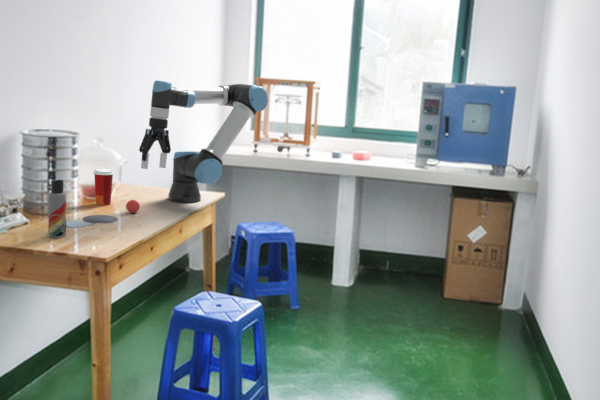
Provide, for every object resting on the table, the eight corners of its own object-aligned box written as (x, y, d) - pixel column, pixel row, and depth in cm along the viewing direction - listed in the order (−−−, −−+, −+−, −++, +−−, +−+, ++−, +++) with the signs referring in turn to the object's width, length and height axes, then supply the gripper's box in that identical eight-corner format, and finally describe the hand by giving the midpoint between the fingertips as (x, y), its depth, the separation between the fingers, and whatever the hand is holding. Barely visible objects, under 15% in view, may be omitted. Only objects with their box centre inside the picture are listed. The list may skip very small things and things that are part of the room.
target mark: (102, 213, 245) (102, 213, 245) (124, 219, 239) (124, 219, 239) (75, 218, 234) (75, 218, 234) (98, 224, 228) (98, 224, 228)
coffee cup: (112, 202, 268) (113, 169, 265) (113, 206, 260) (113, 172, 257) (92, 201, 265) (93, 168, 262) (92, 206, 257) (93, 171, 254)
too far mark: (77, 220, 232) (77, 219, 232) (93, 224, 228) (93, 223, 228) (57, 223, 225) (57, 223, 225) (73, 228, 220) (73, 227, 220)
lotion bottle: (57, 239, 205) (58, 181, 202) (44, 236, 207) (44, 179, 203) (69, 235, 211) (70, 179, 207) (56, 232, 213) (56, 177, 209)
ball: (132, 210, 255) (133, 198, 254) (142, 213, 252) (142, 200, 251) (122, 212, 250) (123, 199, 249) (132, 215, 247) (132, 202, 246)
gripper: (167, 118, 265) (162, 165, 268) (133, 115, 242) (128, 167, 244) (182, 120, 263) (176, 168, 266) (149, 118, 239) (144, 170, 242)
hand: (153, 168), depth 255 cm, fingers open, 13 cm apart
